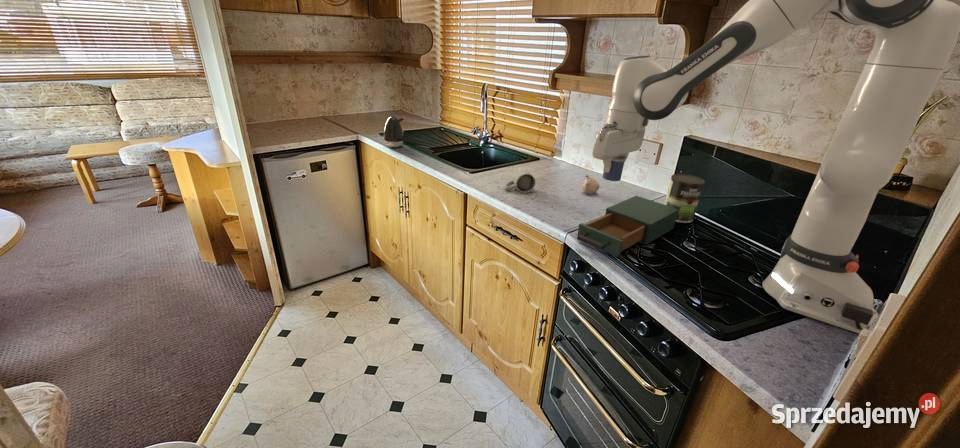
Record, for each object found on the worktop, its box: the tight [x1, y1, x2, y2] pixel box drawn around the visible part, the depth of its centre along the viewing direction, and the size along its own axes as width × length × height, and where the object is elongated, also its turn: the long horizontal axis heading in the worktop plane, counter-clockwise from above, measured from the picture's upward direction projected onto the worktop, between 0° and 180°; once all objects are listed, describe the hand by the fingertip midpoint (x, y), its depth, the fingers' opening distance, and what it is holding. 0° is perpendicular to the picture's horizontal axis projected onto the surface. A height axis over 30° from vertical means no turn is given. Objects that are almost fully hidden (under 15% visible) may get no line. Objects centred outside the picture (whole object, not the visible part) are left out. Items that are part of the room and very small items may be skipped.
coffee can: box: [663, 173, 706, 224], centre depth 138 cm, size 10×10×14 cm
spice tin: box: [602, 156, 627, 182], centre depth 114 cm, size 5×5×6 cm
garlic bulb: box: [581, 175, 600, 195], centre depth 156 cm, size 7×6×8 cm
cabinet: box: [604, 195, 679, 246], centre depth 129 cm, size 19×15×7 cm
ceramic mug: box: [505, 169, 536, 194], centre depth 157 cm, size 11×8×8 cm
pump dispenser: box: [383, 115, 405, 149], centre depth 205 cm, size 10×10×15 cm
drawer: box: [576, 213, 647, 258], centre depth 118 cm, size 22×14×5 cm, turn 132°
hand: (613, 169), depth 114 cm, fingers closed on spice tin, 5 cm apart
